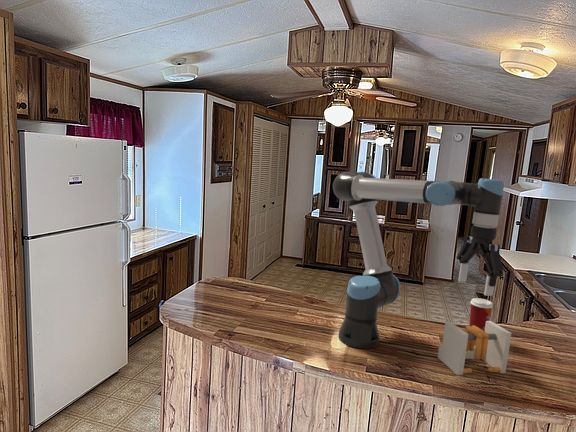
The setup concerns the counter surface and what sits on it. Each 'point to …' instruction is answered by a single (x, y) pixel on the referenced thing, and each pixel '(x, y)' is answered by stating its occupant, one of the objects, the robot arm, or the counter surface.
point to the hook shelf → (456, 348)
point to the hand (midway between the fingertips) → (474, 288)
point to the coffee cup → (480, 312)
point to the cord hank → (477, 342)
